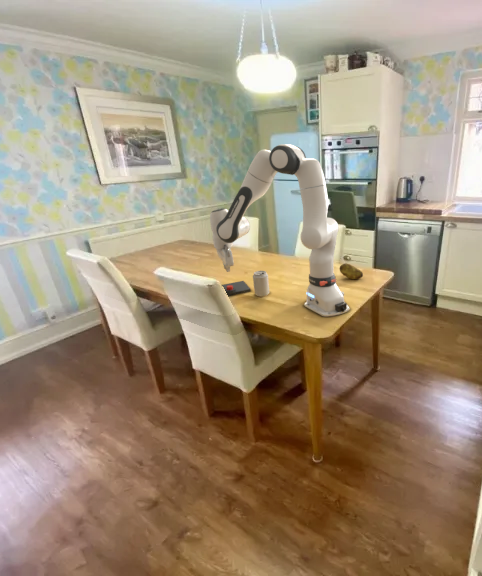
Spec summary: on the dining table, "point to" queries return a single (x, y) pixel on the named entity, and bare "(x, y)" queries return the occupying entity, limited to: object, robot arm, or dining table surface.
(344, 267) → the potato
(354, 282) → the dining table surface
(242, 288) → the scale
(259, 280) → the can
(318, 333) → the dining table surface
